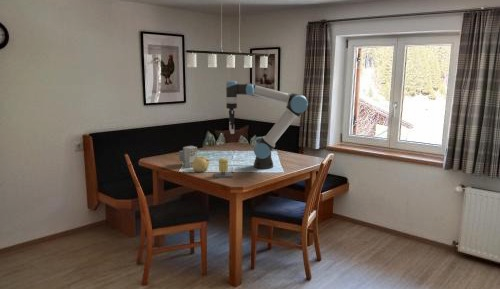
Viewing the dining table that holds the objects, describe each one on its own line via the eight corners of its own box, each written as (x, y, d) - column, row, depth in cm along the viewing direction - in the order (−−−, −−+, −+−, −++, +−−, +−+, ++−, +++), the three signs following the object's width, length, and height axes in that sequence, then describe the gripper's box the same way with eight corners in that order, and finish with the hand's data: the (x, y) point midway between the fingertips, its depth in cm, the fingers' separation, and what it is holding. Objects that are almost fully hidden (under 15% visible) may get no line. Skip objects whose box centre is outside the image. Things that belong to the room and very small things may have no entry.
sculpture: (211, 169, 286) (211, 155, 284) (203, 173, 276) (203, 159, 273) (198, 168, 291) (197, 154, 289) (189, 172, 280) (189, 157, 278)
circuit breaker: (185, 163, 305) (184, 144, 302) (197, 166, 296) (197, 147, 293) (178, 164, 299) (177, 146, 296) (190, 168, 290) (190, 148, 287)
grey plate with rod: (231, 173, 277) (231, 160, 275) (232, 177, 267) (232, 163, 265) (214, 173, 276) (214, 160, 273) (214, 177, 266) (214, 163, 264)
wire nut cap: (227, 169, 274) (227, 157, 272) (228, 171, 268) (227, 160, 266) (218, 169, 273) (218, 158, 271) (219, 172, 267) (219, 160, 266)
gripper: (225, 101, 287) (225, 129, 292) (227, 104, 263) (227, 135, 267) (235, 101, 288) (235, 129, 292) (238, 104, 264) (238, 135, 268)
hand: (231, 132), depth 280 cm, fingers open, 13 cm apart
